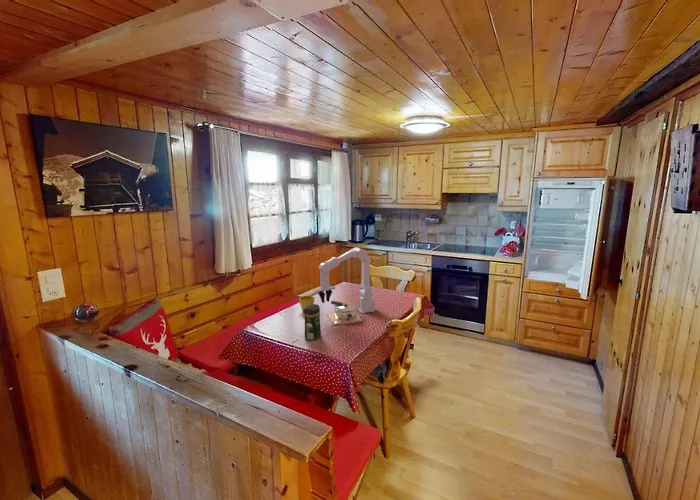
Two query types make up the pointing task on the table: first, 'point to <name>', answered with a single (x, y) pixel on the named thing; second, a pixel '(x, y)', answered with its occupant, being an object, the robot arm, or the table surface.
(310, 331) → the coffee jar
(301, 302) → the plant pot
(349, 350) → the table surface
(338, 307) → the cooker lid
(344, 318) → the tan square board
